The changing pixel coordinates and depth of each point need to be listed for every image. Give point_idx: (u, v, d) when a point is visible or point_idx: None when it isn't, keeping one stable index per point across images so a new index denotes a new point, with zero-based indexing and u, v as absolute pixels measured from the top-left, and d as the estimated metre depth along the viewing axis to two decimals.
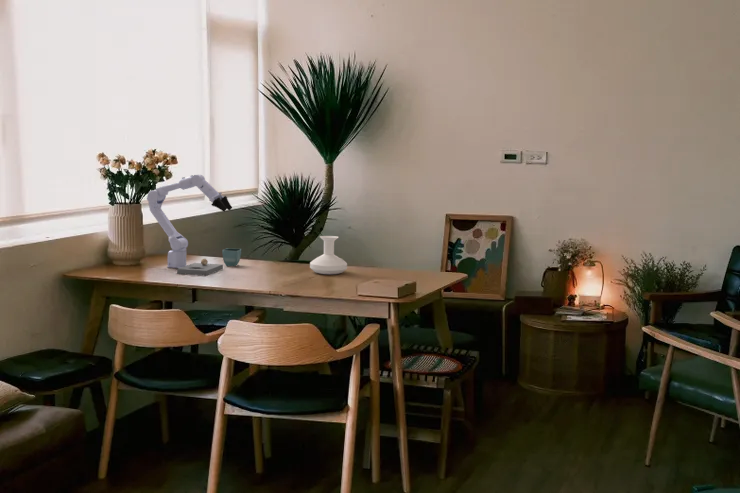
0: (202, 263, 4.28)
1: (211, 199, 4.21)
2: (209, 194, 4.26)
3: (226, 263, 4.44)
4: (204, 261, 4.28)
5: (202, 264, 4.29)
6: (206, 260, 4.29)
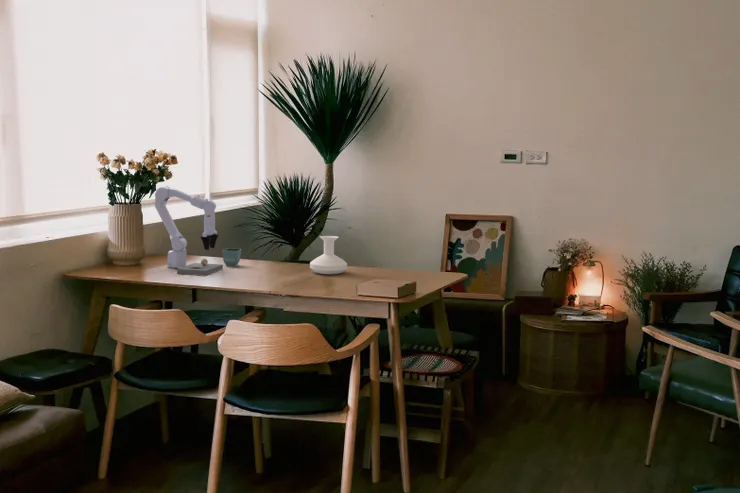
0: (202, 263, 4.28)
1: (204, 234, 4.28)
2: (207, 226, 4.32)
3: (226, 263, 4.44)
4: (204, 261, 4.28)
5: (202, 264, 4.29)
6: (206, 260, 4.29)
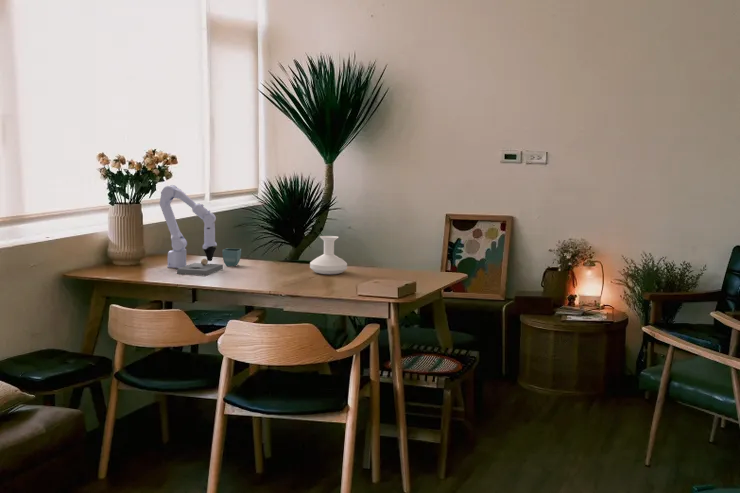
0: (202, 263, 4.28)
1: (204, 246, 4.29)
2: (207, 238, 4.32)
3: (226, 263, 4.44)
4: (204, 261, 4.28)
5: (202, 264, 4.29)
6: (206, 260, 4.29)
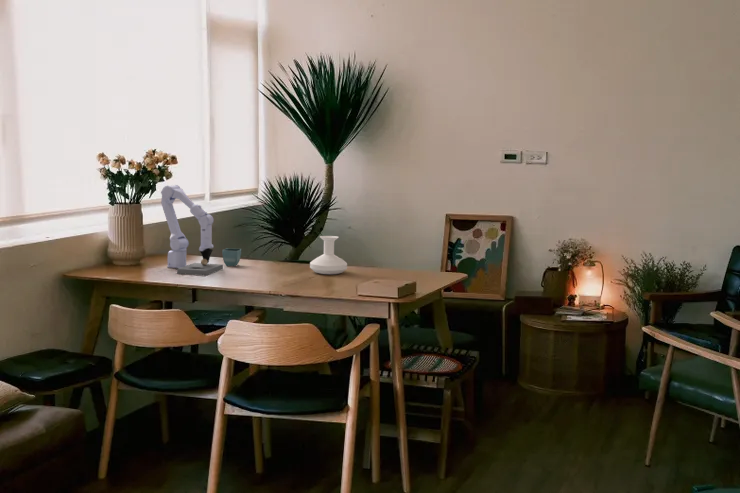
0: (202, 263, 4.28)
1: (200, 248, 4.24)
2: (203, 240, 4.28)
3: (226, 263, 4.44)
4: (204, 261, 4.28)
5: (202, 264, 4.29)
6: (206, 260, 4.29)
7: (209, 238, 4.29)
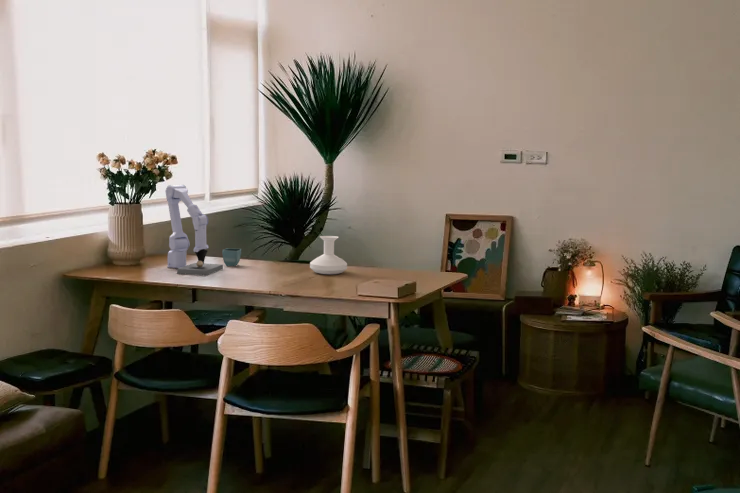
0: None
1: (195, 249, 4.17)
2: (198, 241, 4.21)
3: (226, 263, 4.44)
4: None
5: None
6: None
7: (204, 239, 4.21)
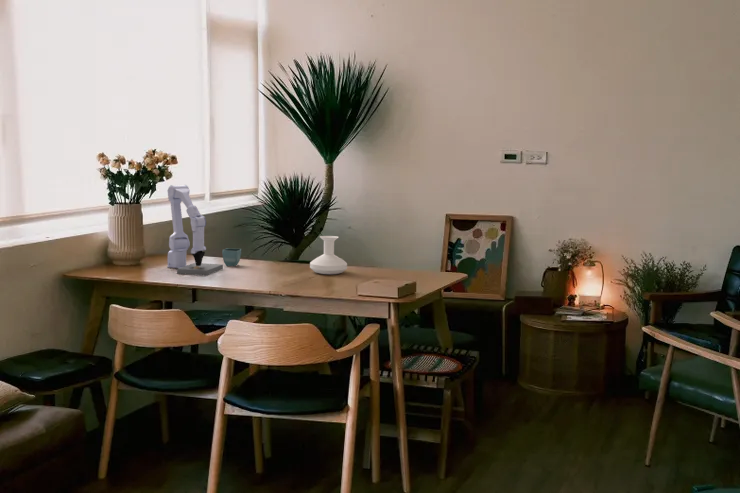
0: None
1: (192, 251, 4.14)
2: (195, 243, 4.18)
3: (226, 263, 4.44)
4: (198, 267, 4.20)
5: None
6: (197, 266, 4.21)
7: (201, 240, 4.19)
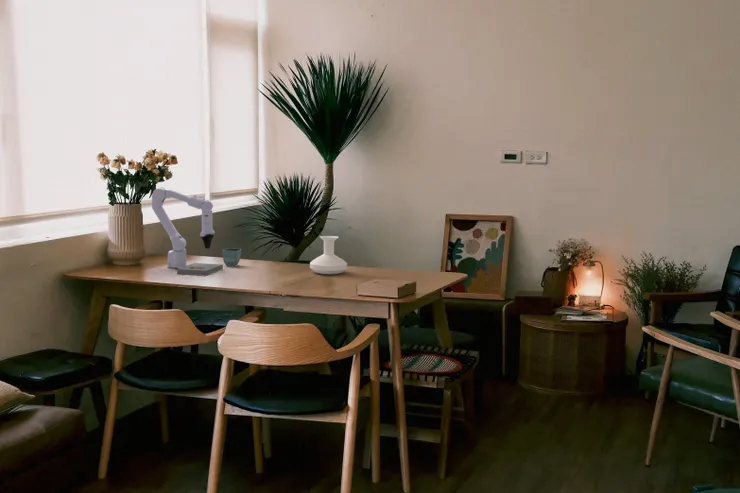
0: None
1: (201, 234, 4.29)
2: (204, 226, 4.33)
3: (226, 263, 4.44)
4: (198, 267, 4.20)
5: None
6: (197, 266, 4.21)
7: (210, 224, 4.34)
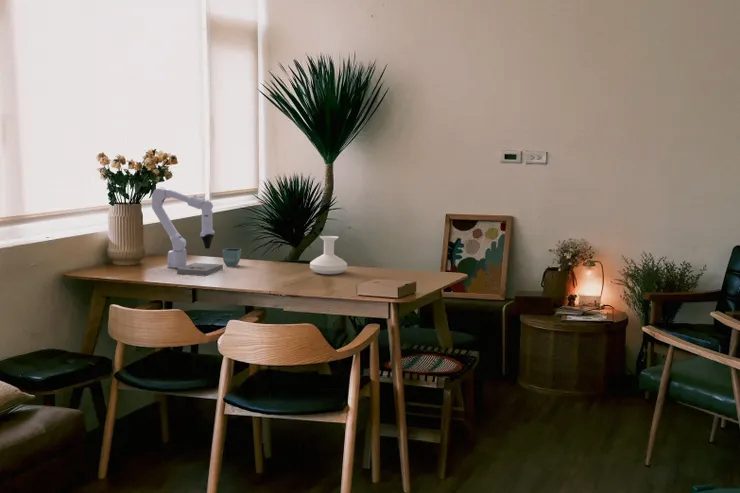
0: None
1: (201, 234, 4.29)
2: (204, 226, 4.33)
3: (226, 263, 4.44)
4: (198, 267, 4.20)
5: None
6: (197, 266, 4.21)
7: (210, 224, 4.34)
